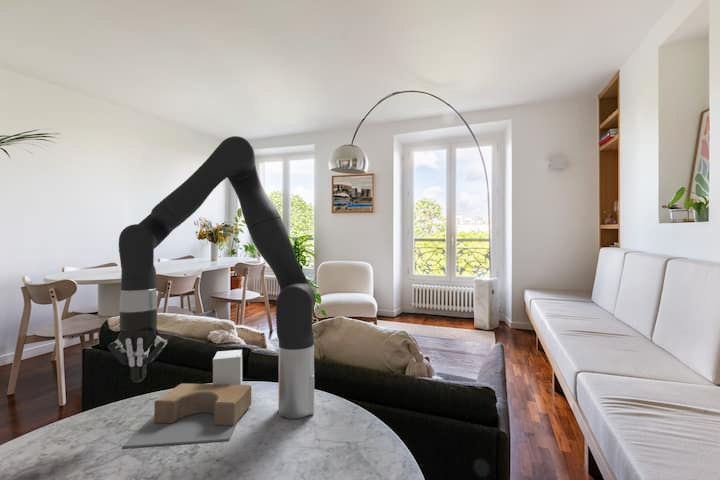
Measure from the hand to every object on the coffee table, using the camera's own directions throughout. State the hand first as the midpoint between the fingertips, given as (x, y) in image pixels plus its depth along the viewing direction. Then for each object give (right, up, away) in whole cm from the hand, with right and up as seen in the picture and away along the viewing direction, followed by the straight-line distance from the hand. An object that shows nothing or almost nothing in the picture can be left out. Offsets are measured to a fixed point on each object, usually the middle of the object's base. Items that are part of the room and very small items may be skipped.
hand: (138, 380), depth 80 cm
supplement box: (+15, -12, +16) cm, 25 cm away
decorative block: (+3, -8, +7) cm, 11 cm away
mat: (+12, -11, +1) cm, 16 cm away
